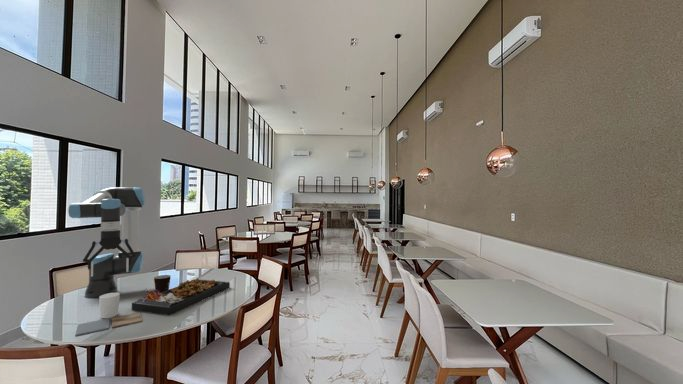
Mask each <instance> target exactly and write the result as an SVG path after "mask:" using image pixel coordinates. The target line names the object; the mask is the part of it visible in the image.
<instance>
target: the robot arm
mask: <svg viewBox="0 0 683 384" xmlns="http://www.w3.org/2000/svg"><path fill="white" fill-rule="evenodd" d="M145 205H146V197H145V191H144V189H143V188H142V187H135V186H133V187H132V186H130V187H129V186H127V187H126V186H124V187H122V186H121V187H120V186H119V187H118V186H115V187H113V186H112V187H107V188H104V189H101V190H97V191H96V192H94V194H93V195H92V196H91V197H90V198H88V199H86V200H84V201H83V202H73V203H70V204H69V206H68V209H67V210H68V216H69V217H70V218H72V219H88V218H90V219H91V218H92V219H93V218H100V230H101V231H100V240H99V241H98V240H97V241H96V240H93V241H92V243H91V246H90V248H89V250H88V251H87V253H86V254H85V256H84V258H83V259H82V262H84V263H86V264H87V269H88V283H87V286H86V289H85V291H84V298H99V297H100V296H101V295H104V294H108V293H118V286H117V284H116V281H115V275H116V276H117V275H127V274H135V273H139V272H141V271H142V268H143V264H144V259H145V255H144V253H142V250H141V249H140V248H139V230H140V211H141V210H143V206H145ZM121 217H122V222H121ZM121 225H122V227H121ZM120 229H122V230H120ZM121 231H122V232H121ZM98 245H100V246H101V247H99V249H98V250H97V251H96V252H95V253H94V254H93V255H92V256H91V254H92V253H93V251H94V249H95V247H97V246H98ZM120 245H121V246H120ZM115 249H117V250H118V252H117V253H118V255H115V253H113V252H110V253H103V254H101V253H102V252H103V251H104V250H105V251H106V250H115ZM89 256H91V257H90V258H89Z"/></svg>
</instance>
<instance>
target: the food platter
mask: <svg viewBox="0 0 683 384" xmlns="http://www.w3.org/2000/svg"><path fill="white" fill-rule="evenodd" d="M228 288H229V289H230V288H231V283H230V282H229V281H221V280H215V279H212V280H211V279H210V280H209V279H199V278H196V279H194V278H193V279H191V280H190V281H189V280H186V281H183V282H180V283H179V284H178V286H175V287H173V288H169V290H166V291H164V292H161V293H159V291H158V290H155V289H150V291H149V290H148V289H147V288H145V290H146V291H147V293H145V294H144V296H143V298H138V299H137V300H136V301H133V302H131V311H135V312H140V313H149V314H156V315H163V316H164V315H165V316H172V315H174V314H176V313H178V312H180V311H183V310H185V309H187V308H190V307H191V305H192V306H193V305H196V304H198V303H200V302H202V300H203V301H205V300H207V299H209V298H212V297H214V296H215V294H216V295H218V294H220V293H222V292H225V291H227V290H229V289H228ZM226 289H227V290H226ZM224 290H225V291H224ZM156 292H157V293H156ZM219 292H220V293H219ZM217 293H218V294H217ZM213 295H214V296H213ZM208 297H209V298H208ZM206 298H207V299H206ZM204 299H205V300H204Z"/></svg>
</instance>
